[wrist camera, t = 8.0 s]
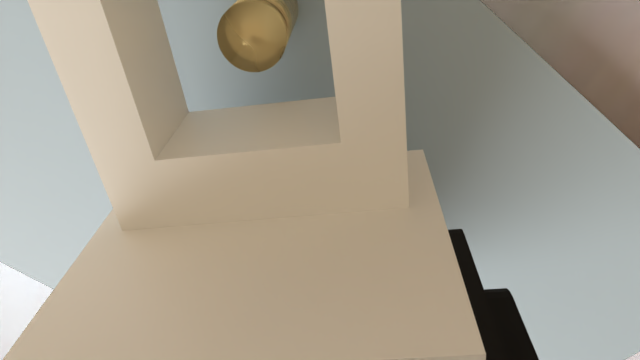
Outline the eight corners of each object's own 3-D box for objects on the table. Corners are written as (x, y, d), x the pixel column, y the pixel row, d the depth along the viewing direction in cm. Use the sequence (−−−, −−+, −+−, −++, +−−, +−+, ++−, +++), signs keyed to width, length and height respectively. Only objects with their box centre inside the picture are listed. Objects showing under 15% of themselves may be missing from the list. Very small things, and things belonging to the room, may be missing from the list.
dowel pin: (309, 4, 10) (300, 33, 8) (277, 48, 11) (261, 85, 9) (263, -34, 10) (241, -14, 8) (232, 13, 11) (204, 44, 8)
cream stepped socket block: (427, 352, 13) (470, 587, 8) (205, 364, 13) (140, 588, 9) (415, -175, 7) (529, -280, 3) (30, -114, 8) (-374, -122, 3)
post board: (743, 247, 15) (974, 451, 9) (417, 448, 20) (442, 643, 15) (151, -303, 9) (-135, -597, 4) (-60, 193, 15) (-287, 360, 10)
